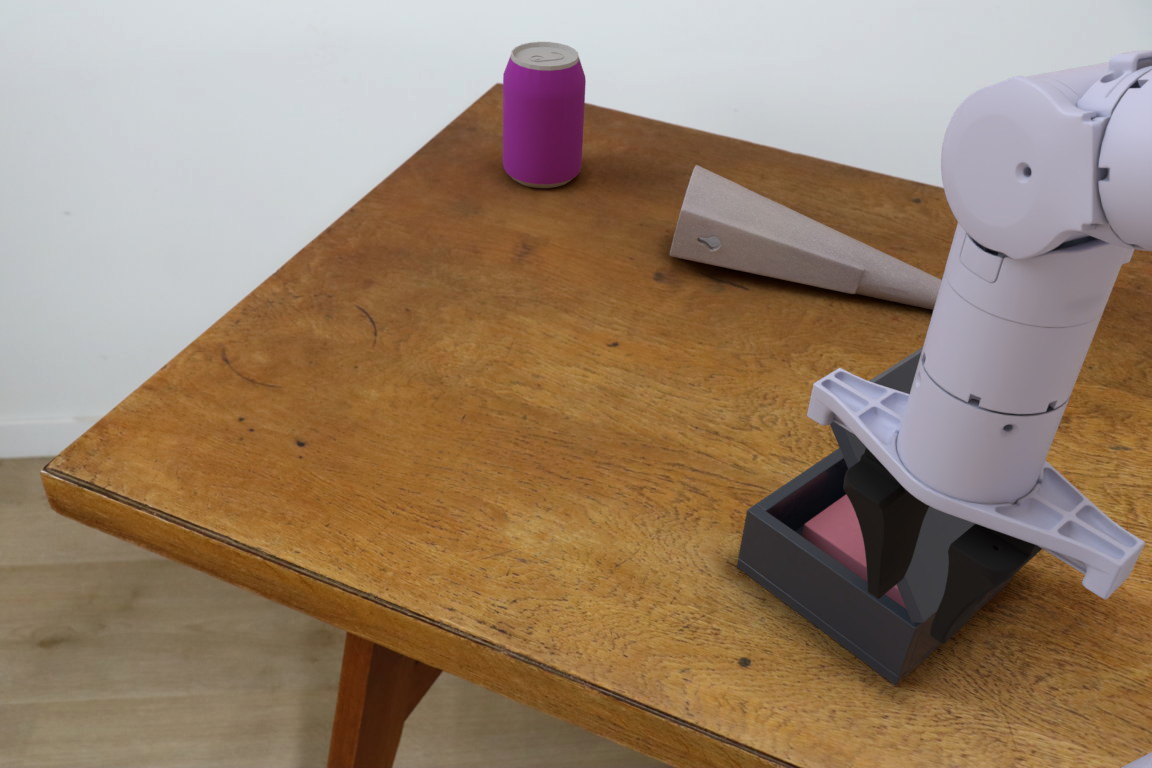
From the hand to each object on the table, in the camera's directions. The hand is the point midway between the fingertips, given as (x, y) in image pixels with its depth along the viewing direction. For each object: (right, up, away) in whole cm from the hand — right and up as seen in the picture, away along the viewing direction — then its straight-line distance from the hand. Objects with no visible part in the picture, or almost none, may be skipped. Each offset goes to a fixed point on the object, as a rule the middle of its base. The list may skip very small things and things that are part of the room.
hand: (916, 606), depth 51 cm
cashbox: (+2, -1, +16) cm, 16 cm away
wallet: (+2, -1, +15) cm, 16 cm away
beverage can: (-19, +31, +57) cm, 67 cm away
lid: (+4, +6, +9) cm, 11 cm away
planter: (+5, +20, +44) cm, 49 cm away
